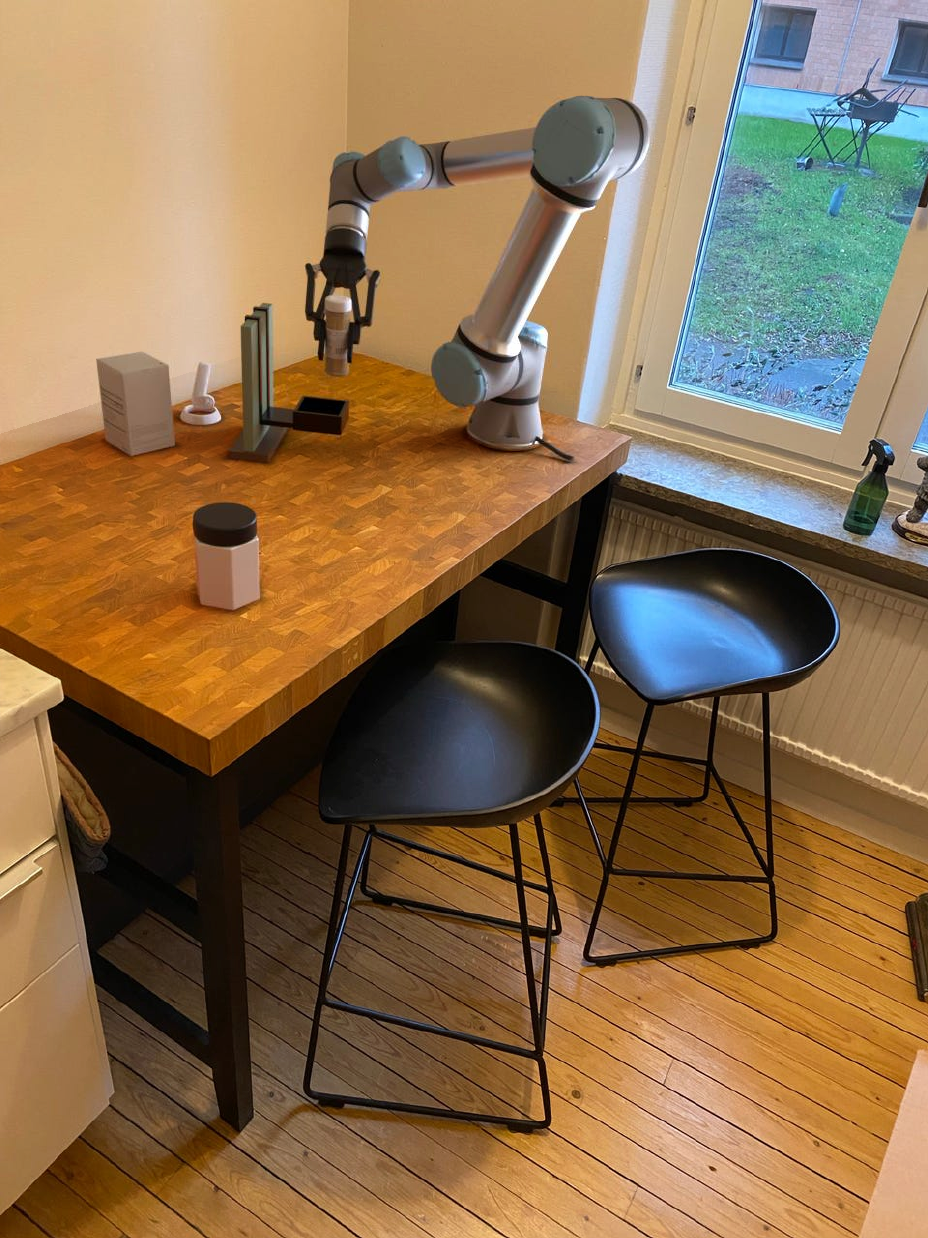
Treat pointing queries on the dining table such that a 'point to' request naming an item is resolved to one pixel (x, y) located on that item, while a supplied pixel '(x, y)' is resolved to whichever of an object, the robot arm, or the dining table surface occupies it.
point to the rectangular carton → (136, 402)
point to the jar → (226, 555)
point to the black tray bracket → (309, 410)
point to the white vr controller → (201, 400)
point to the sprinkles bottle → (337, 334)
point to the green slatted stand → (256, 394)
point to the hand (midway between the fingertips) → (334, 358)
